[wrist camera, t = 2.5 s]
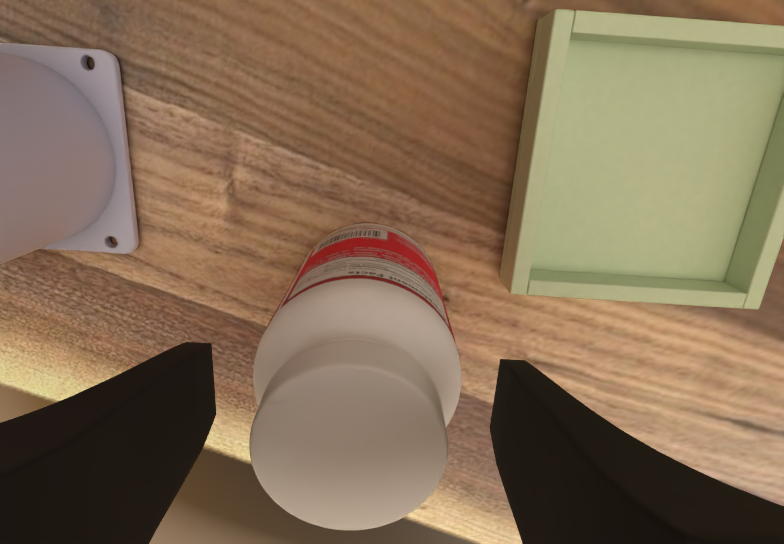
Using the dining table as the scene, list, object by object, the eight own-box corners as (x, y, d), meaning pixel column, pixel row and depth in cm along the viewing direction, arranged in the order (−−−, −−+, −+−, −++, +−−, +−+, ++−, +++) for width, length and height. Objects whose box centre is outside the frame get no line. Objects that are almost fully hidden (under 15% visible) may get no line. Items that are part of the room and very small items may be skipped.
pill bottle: (377, 370, 23) (365, 591, 12) (273, 294, 22) (162, 468, 11) (465, 278, 21) (537, 442, 11) (359, 189, 20) (325, 278, 10)
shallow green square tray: (498, 277, 21) (509, 294, 19) (537, 19, 18) (555, 8, 16) (725, 291, 22) (759, 310, 20) (806, 39, 18) (856, 30, 16)
